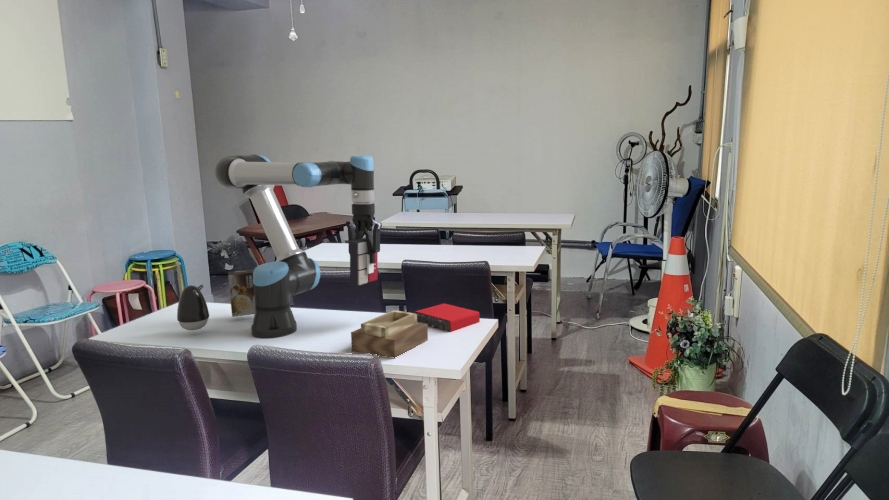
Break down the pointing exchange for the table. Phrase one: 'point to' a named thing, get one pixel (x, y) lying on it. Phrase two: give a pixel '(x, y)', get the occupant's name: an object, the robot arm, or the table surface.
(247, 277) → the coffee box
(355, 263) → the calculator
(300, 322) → the table surface
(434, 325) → the red device housing
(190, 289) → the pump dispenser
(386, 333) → the display riser
